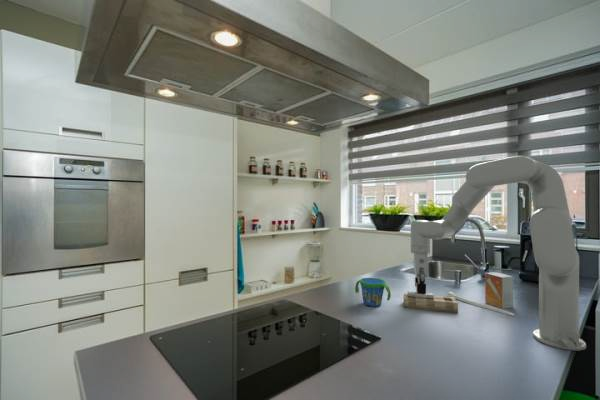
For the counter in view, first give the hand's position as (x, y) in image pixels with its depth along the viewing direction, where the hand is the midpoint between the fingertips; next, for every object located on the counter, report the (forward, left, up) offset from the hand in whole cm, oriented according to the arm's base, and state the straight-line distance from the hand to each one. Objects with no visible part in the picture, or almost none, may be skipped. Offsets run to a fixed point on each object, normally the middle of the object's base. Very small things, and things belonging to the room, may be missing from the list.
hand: (420, 290), depth 125 cm
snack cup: (-3, +19, -7) cm, 21 cm away
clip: (0, 0, -6) cm, 6 cm away
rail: (0, -4, -7) cm, 8 cm away
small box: (+12, -33, -7) cm, 35 cm away
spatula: (+9, -24, -8) cm, 27 cm away
